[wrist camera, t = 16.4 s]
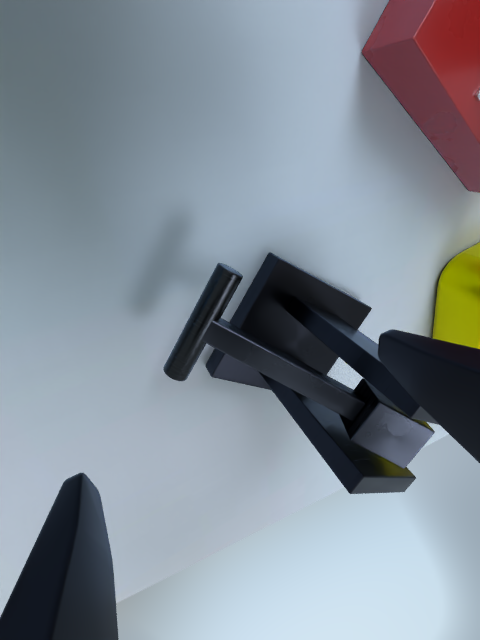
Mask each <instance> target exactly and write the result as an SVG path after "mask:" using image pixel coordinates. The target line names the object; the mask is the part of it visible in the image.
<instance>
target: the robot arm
mask: <svg viewBox="0 0 480 640" xmlns="http://www.w3.org/2000/svg"><path fill="white" fill-rule="evenodd" d="M378 357H379V359H380V361H381V362H382V364H383V365H384V366H385V367H386V368H387V369H388V371H389V372H390V373H391V374H392V375H393V376H394V378H395V379H396V380H397V381H398V382H399V383H400V385H401V386H402V387H403V388H404V389H405V390H406V392H407V393H408V394H409V395H410V396H411V397H412V398H413V399H414V400H415V401H416V402H417V403H418V404H419V405H420V406H421V407H422V408H423V409H424V410H425V411H426V412H427V413H428V414H429V415H430V416H431V417H432V418H433V419H434V420H435V421H436V422H437V423H439V424H440V425H441V426H442V427H443V428H444V429H445V430H446V431H447V432H448V433H449V434H450V435H451V436H452V437H453V438H454V439H455V440H456V441H457V442H458V443H459V444H461V446H463V448H465V449H466V450H467V451H468V452H469V453H470V454H471V455H472V456H473V457H474V458H475V459H476V460H477V461H478V462H479V463H480V349H477V348H473V347H469V346H464V345H460V344H455V343H451V342H447V341H442V340H438V339H433V338H429V337H425V336H420V335H416V334H411V333H407V332H403V331H398V330H389V331H386V332H384V333H382V334H381V335H380V337H379V344H378ZM116 615H117V613H116V600H115V586H114V573H113V562H112V556H111V550H110V544H109V539H108V534H107V529H106V523H105V518H104V513H103V508H102V502H101V497H100V494H99V491H98V490H97V488H96V487H95V486H94V484H93V483H92V482H91V481H90V479H89V478H88V477H87V476H86V474H84V473H79V474H77V475H75V476H72V477H70V478H68V479H67V480H65V482H64V483H63V485H62V487H61V489H60V491H59V493H58V495H57V498H56V500H55V502H54V504H53V506H52V508H51V510H50V512H49V515H48V517H47V519H46V521H45V523H44V525H43V527H42V530H41V532H40V534H39V536H38V538H37V540H36V542H35V544H34V547H33V549H32V551H31V553H30V555H29V557H28V559H27V561H26V564H25V566H24V568H23V570H22V572H21V574H20V576H19V579H18V581H17V583H16V585H15V587H14V589H13V591H12V593H11V596H10V598H9V600H8V602H7V604H6V606H5V608H4V610H3V613H2V615H1V617H0V640H118V628H117V616H116Z"/></svg>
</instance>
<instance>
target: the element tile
mask: <svg viewBox="0 0 480 640" xmlns="http://www.w3.org/2000/svg"><path fill="white" fill-rule="evenodd" d="M432 338H433V339H438V340H442V341H447V342H451V343H455V344H460V345H464V346H469V347H473V348H477V349H480V242H479V243H477V244H475V245H474V246H472V247H470V248H468V249H466V250H465V251H463V252H461V253H459V254H458V255H456V256H455V257H454V258H453V259H452V260H451V261H450V262H449V263H448V264H447V265H446V267H445V268H444V270H443V271H442V274H441V276H440V278H439V282H438V286H437V296H436V306H435V316H434V326H433V336H432Z"/></svg>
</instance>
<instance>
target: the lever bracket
mask: <svg viewBox="0 0 480 640" xmlns="http://www.w3.org/2000/svg"><path fill="white" fill-rule="evenodd" d="M371 309H372V308H371V307H369V306H368V305H366V304H364V303H363V302H361V301H359V300H357V299H356V298H354V297H352V296H350V295H348V294H346V293H344V292H343V291H341V290H339V289H337V288H335V287H333V286H331V285H330V284H328V283H326V282H324V281H322V280H320V279H319V278H317V277H315V276H313V275H311V274H309V273H307V272H306V271H304V270H302V269H300V268H298V267H296V266H295V265H293V264H291V263H289V262H287V261H285V260H283V259H282V258H280V257H278V256H276V255H274V254H272V253H268V255H267V257H266V259H265V261H264V262H263V264H262V266H261V268H260V269H259V271H258V273H257V275H256V277H255V278H254V280H253V282H252V284H251V286H250V287H249V289H248V291H247V293H246V294H245V296H244V298H243V300H242V302H241V303H240V305H239V307H238V309H237V310H236V312H235V314H234V316H233V318H232V319H231V321H230V323H231V324H233V325H235V326H237V327H238V328H240V329H242V330H244V331H246V332H248V333H249V334H251V335H253V336H255V337H257V338H259V339H260V340H262V341H264V342H266V343H268V344H270V345H272V346H273V347H275V348H277V349H279V350H281V351H283V352H284V353H286V354H288V355H290V356H292V357H294V358H295V359H297V360H299V361H301V362H303V363H305V364H307V365H308V366H310V367H312V368H314V369H316V370H318V371H319V372H321V373H323V374H325V375H327V373H328V372H329V371H330V369H331V368H332V366H333V365H334V363H335V362H336V360H337V359H338V357H340V358H341V359H342V360H344V361H345V362H346V363H347V364H348V365H349V366H351V367H352V368H353V369H354V370H355V371H356V372H358V373H359V374H360V375H361V376H362V377H363V378H364V379H366V380H367V381H368V382H369V383H370V384H371V385H373V386H374V387H375V388H376V389H377V390H378V391H379V392H381V393H382V394H383V395H384V396H385V397H386V398H388V399H389V400H390V401H391V402H392V403H393V404H394V405H396V406H397V407H398V408H399V409H400V410H401V411H403V412H404V413H405V414H406V415H407V416H408V417H410V418H412V419H417V420H421V421H426V422H430V423H434V424H439V423H437V422H436V421H435V420H434V419H433V418H432V417H431V416H430V415H429V414H428V413H427V412H426V411H425V410H424V409H423V408H422V407H421V406H420V405H419V404H418V403H417V402H416V401H415V400H414V399H413V398H412V397H411V396H410V395H409V394H408V393H407V392H406V390H405V389H404V388H403V387H402V386H401V385H400V383H399V382H398V381H397V380H396V379H395V378H394V376H393V375H392V374H391V373H390V372H389V371H388V369H387V368H386V367H385V366H384V365H383V364H382V362H381V361H380V359H379V357H378V344H377V343H375V342H374V341H372V340H371V339H370V338H368V337H367V336H365V335H364V334H363V333H361V332H360V331H358V328H359V327H360V325H361V324H362V322H363V321H364V319H365V318H366V317H367V315H368V314H369V312H370V311H371ZM206 368H207V370H208V372H209V373H210V375H211V377H214V378H219V379H223V380H228V381H233V382H237V383H242V384H246V385H251V386H256V387H260V388H265V389H269V390H272V391H273V392H274V393H275V395H276V396H277V397H278V399H279V400H280V401H281V403H282V404H283V405H284V407H285V408H286V409H287V411H288V412H289V413H290V415H291V416H292V417H293V419H294V420H295V421H296V423H297V424H298V425H299V427H300V428H301V429H302V431H303V432H304V433H305V435H306V436H307V437H308V439H309V440H310V441H311V443H312V444H313V445H314V447H315V448H316V449H317V451H318V452H319V453H320V455H321V456H322V457H323V459H324V460H325V461H326V463H327V464H328V465H329V467H330V468H331V469H332V471H333V472H334V473H335V475H336V476H337V477H338V479H339V480H340V481H341V483H342V484H343V485H344V487H345V488H346V489H347V491H348V492H349V493H350V494H361V493H389V492H405V490H406V489H407V488H408V487H409V486H410V485H411V483H412V482H413V481H414V480H415V479H416V477H415V476H414V475H413V474H412V473H411V472H410V471H409V470H408V468H407V467H405V468H404V469H403V468H401V467H399V466H397V465H395V464H393V463H392V462H390V461H388V460H386V459H384V458H382V457H380V456H378V455H376V454H374V453H373V452H371V451H369V450H367V449H365V448H363V447H361V446H359V445H357V444H356V443H354V442H352V441H351V440H350V438H349V436H348V434H347V431H346V429H345V427H344V424H343V422H342V420H341V418H340V415H339V414H338V413H336V412H334V411H332V410H330V409H328V408H326V407H324V406H323V405H321V404H319V403H317V402H315V401H313V400H311V399H309V398H308V397H306V396H304V395H302V394H300V393H298V392H296V391H294V390H293V389H291V388H289V387H287V386H285V385H283V384H281V383H280V382H278V381H276V380H274V379H272V378H270V377H268V376H266V375H265V374H263V373H261V372H259V371H257V370H255V369H253V368H251V367H250V366H248V365H246V364H244V363H242V362H240V361H238V360H236V359H235V358H233V357H231V356H229V355H227V354H225V353H223V352H221V351H220V350H218V349H216V348H215V350H214V351H213V353H212V355H211V357H210V358H209V360H208V362H207V364H206ZM439 425H440V424H439Z"/></svg>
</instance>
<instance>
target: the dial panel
mask: <svg viewBox="0 0 480 640" xmlns="http://www.w3.org/2000/svg"><path fill="white" fill-rule="evenodd" d="M362 54H363V55H364V56H365V58H366V59H367V60H368V62H369V63H370V64H371V65H372V67H373V68H374V69H375V71H376V72H377V73H378V75H379V76H380V77H381V78H382V80H383V81H384V82H385V84H386V85H387V86H388V87H389V89H390V90H391V91H392V93H393V94H394V95H395V96H396V98H397V99H398V100H399V102H400V103H401V104H402V105H403V107H404V108H405V109H406V111H407V112H408V113H409V114H410V116H411V117H412V118H413V120H414V121H415V122H416V124H417V125H418V126H419V127H420V129H421V130H422V131H423V133H424V134H425V135H426V136H427V138H428V139H429V140H430V142H431V143H432V144H433V145H434V147H435V148H436V149H437V151H438V152H439V153H440V154H441V156H442V157H443V158H444V160H445V161H446V162H447V163H448V165H449V166H450V167H451V169H452V170H453V171H454V173H455V174H456V175H457V176H458V178H459V179H460V180H461V182H462V183H463V184H464V185H465V187H466V188H467V189H468V191H473V192H480V0H389V2H388V4H387V6H386V8H385V10H384V11H383V13H382V15H381V17H380V19H379V21H378V22H377V24H376V26H375V28H374V30H373V32H372V33H371V35H370V37H369V39H368V41H367V43H366V44H365V46H364V48H363V50H362Z"/></svg>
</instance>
